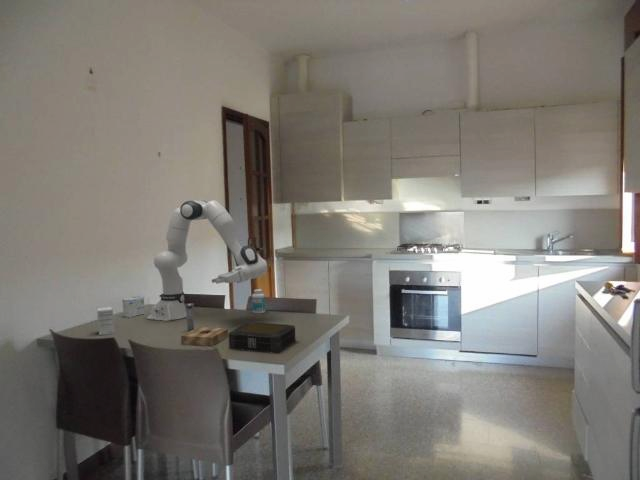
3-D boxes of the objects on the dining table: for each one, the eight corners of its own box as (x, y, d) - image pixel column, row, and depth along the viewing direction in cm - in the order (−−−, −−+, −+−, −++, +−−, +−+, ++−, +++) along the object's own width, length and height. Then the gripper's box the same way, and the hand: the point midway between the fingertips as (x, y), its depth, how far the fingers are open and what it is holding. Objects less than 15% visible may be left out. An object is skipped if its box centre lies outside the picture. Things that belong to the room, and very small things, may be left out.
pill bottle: (260, 310, 292) (259, 288, 291) (268, 312, 287) (267, 289, 286) (250, 312, 287) (249, 290, 286) (257, 314, 282) (256, 291, 281)
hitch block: (181, 344, 227) (180, 335, 227) (199, 335, 242) (198, 327, 242) (212, 346, 223) (212, 337, 222) (228, 336, 238) (228, 328, 238)
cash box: (227, 349, 218) (226, 332, 217) (249, 337, 236) (249, 321, 236) (277, 354, 208) (276, 336, 208) (297, 341, 227) (296, 324, 227)
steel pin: (184, 332, 249) (183, 304, 248) (189, 329, 253) (187, 303, 252) (192, 332, 247) (191, 305, 246) (197, 330, 252) (195, 303, 251)
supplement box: (98, 332, 254) (97, 308, 253) (114, 330, 257) (112, 306, 256) (98, 335, 248) (96, 310, 247) (114, 333, 250) (112, 309, 249)
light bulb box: (138, 313, 296) (137, 295, 295) (145, 314, 292) (144, 296, 291) (122, 316, 287) (121, 298, 286) (129, 318, 283) (128, 299, 282)
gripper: (232, 268, 270) (208, 275, 265) (242, 269, 252) (216, 276, 246) (235, 279, 271) (211, 286, 265) (245, 280, 252) (219, 288, 247)
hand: (213, 281), depth 255 cm, fingers open, 8 cm apart
